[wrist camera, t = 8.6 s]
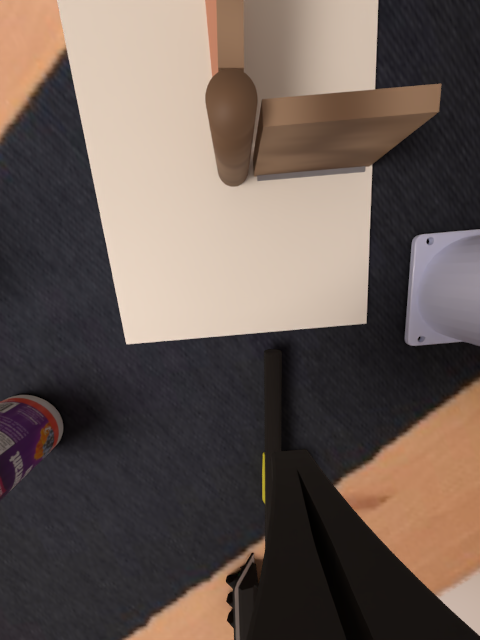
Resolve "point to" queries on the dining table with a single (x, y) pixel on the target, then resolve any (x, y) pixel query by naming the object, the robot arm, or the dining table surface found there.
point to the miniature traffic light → (247, 577)
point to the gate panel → (230, 34)
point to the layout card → (201, 170)
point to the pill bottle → (25, 436)
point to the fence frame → (309, 126)
